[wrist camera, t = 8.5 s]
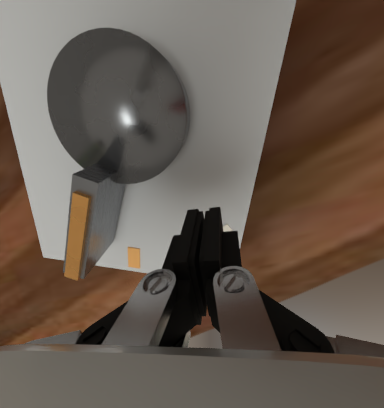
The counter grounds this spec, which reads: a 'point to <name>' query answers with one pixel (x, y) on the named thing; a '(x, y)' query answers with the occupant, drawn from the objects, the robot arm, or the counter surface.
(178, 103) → the grey rounded handled piece
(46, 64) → the white rectangular board
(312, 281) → the counter surface
